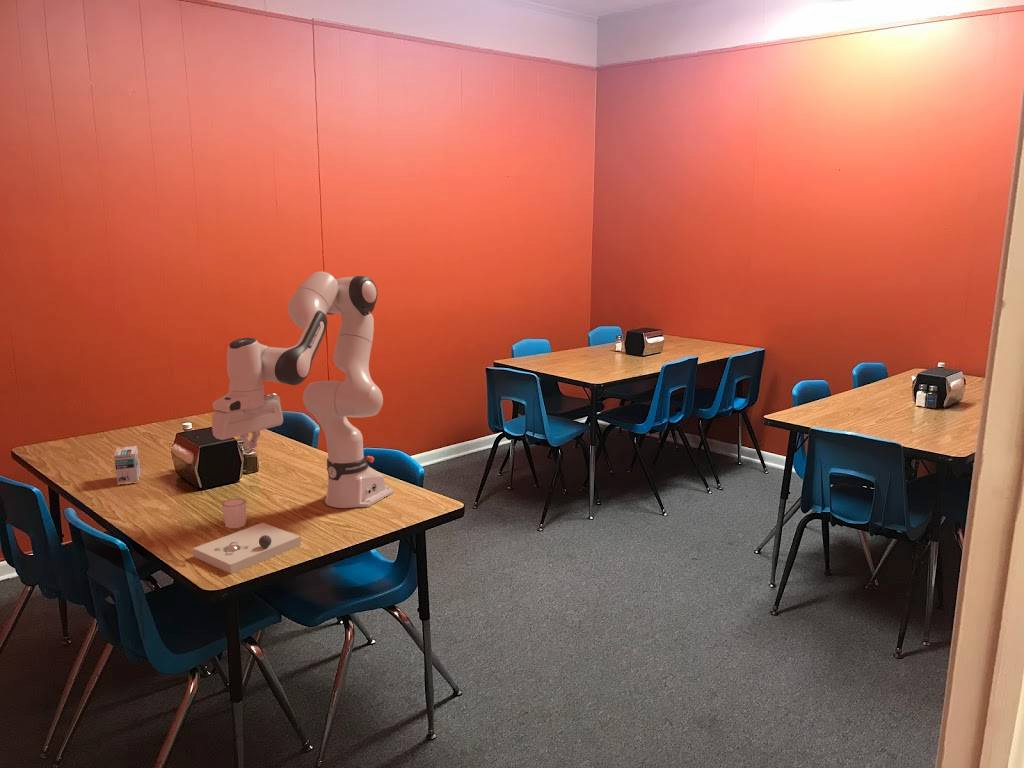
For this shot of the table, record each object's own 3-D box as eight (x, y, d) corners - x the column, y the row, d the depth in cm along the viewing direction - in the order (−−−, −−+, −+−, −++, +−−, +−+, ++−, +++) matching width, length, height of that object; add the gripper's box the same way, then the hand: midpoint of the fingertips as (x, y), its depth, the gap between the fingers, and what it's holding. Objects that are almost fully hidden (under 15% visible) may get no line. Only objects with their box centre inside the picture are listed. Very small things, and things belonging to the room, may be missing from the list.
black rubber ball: (266, 543, 210) (266, 532, 209) (274, 546, 208) (273, 535, 207) (256, 547, 207) (255, 536, 207) (264, 550, 206) (263, 539, 205)
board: (263, 530, 225) (262, 522, 224) (301, 544, 215) (300, 536, 214) (193, 556, 208) (192, 548, 207) (231, 573, 198) (230, 564, 197)
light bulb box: (138, 483, 265) (135, 453, 263) (116, 486, 263) (113, 455, 260) (140, 474, 275) (137, 445, 273) (119, 476, 272) (116, 447, 270)
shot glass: (250, 520, 233) (249, 497, 231) (243, 529, 226) (242, 506, 225) (227, 520, 233) (225, 498, 231) (220, 529, 226) (218, 506, 224)
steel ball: (233, 555, 209) (235, 543, 209) (240, 558, 208) (242, 546, 208) (223, 556, 207) (225, 544, 207) (230, 559, 205) (232, 547, 205)
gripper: (272, 390, 220) (275, 437, 222) (206, 404, 204) (211, 454, 206) (286, 393, 216) (289, 441, 219) (220, 407, 200) (225, 458, 203)
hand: (250, 447), depth 212 cm, fingers closed
